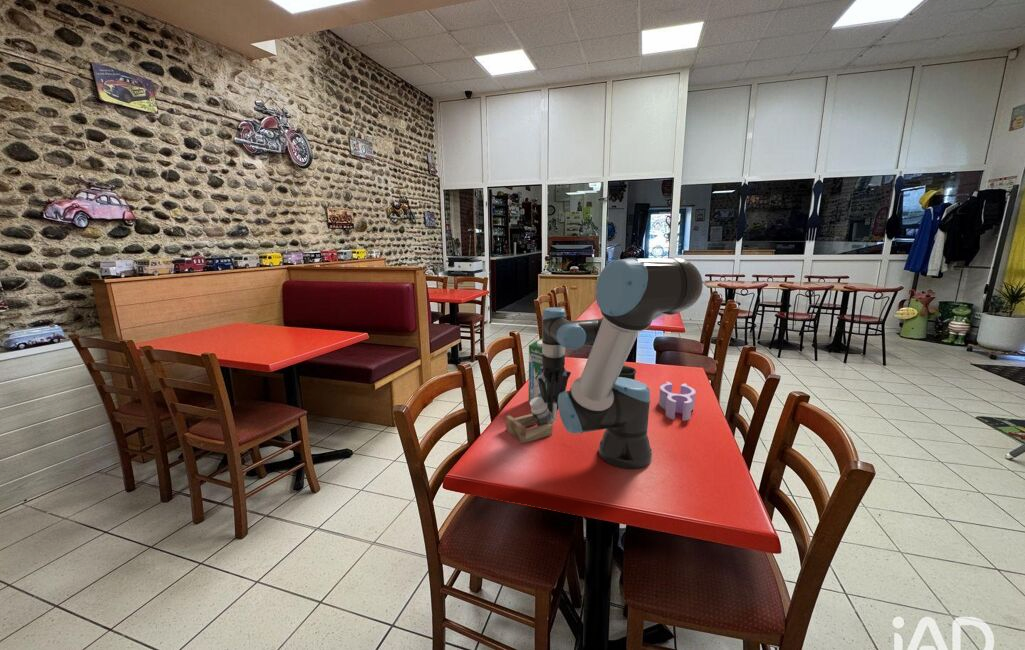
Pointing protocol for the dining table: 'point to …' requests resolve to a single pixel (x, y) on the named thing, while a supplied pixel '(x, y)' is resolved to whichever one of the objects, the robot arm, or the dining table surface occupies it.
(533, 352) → the milk carton
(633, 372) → the mug
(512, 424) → the channel
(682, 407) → the clip
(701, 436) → the dining table surface
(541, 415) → the pill bottle
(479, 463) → the dining table surface
